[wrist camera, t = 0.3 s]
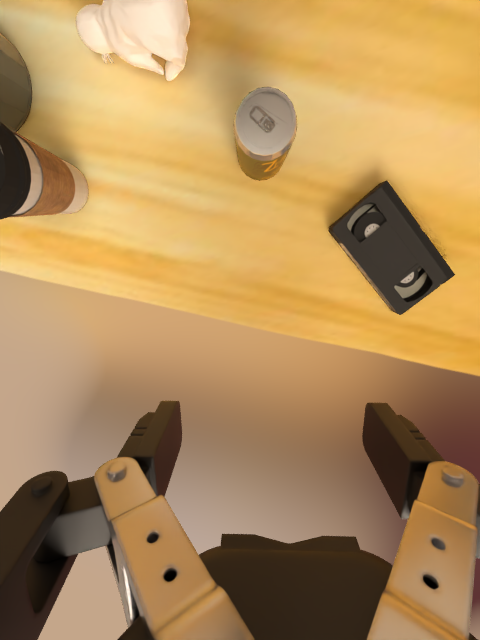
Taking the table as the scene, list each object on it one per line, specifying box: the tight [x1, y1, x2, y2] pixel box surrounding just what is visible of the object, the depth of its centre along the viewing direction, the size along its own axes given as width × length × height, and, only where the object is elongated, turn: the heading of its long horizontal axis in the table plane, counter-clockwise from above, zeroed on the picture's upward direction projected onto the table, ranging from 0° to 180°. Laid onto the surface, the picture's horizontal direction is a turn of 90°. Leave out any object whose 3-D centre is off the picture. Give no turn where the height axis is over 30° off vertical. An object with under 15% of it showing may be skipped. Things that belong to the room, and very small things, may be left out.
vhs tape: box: [329, 181, 455, 315], centre depth 38 cm, size 14×8×2 cm, turn 42°
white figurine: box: [76, 0, 190, 81], centre depth 30 cm, size 6×8×12 cm
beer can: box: [233, 87, 297, 181], centre depth 31 cm, size 5×5×12 cm
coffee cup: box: [0, 122, 88, 219], centre depth 31 cm, size 8×8×15 cm
